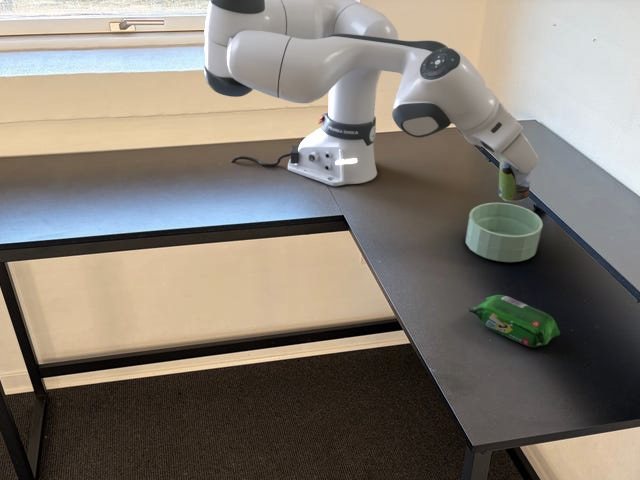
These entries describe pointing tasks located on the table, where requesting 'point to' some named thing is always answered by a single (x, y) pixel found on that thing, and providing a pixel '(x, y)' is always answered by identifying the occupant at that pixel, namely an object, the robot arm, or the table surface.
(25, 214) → the table surface
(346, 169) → the robot arm
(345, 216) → the table surface
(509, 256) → the bowl
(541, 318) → the snack package
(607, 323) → the table surface
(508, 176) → the beverage can
